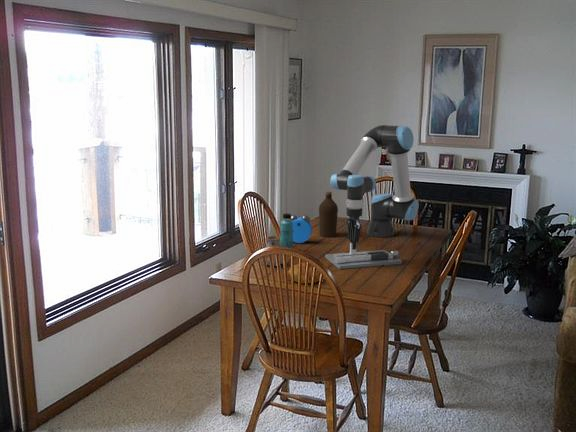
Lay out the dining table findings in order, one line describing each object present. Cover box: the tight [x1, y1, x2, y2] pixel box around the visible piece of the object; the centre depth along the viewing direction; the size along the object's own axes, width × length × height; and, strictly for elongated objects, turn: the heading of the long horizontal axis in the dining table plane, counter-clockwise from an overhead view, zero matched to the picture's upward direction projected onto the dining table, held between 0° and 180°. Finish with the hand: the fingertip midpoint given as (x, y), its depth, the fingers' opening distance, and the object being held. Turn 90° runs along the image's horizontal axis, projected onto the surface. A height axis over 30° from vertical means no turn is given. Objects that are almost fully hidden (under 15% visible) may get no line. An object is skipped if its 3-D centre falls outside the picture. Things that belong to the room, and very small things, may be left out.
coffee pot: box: [261, 235, 283, 267], centre depth 285 cm, size 21×12×15 cm, turn 0°
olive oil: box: [318, 190, 339, 238], centre depth 343 cm, size 11×11×25 cm
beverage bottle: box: [279, 212, 294, 249], centre depth 310 cm, size 6×7×20 cm
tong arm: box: [333, 250, 389, 260], centre depth 296 cm, size 26×3×2 cm, turn 104°
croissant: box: [287, 262, 320, 285], centre depth 269 cm, size 14×16×8 cm
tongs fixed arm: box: [335, 249, 399, 263], centre depth 293 cm, size 33×5×3 cm, turn 106°
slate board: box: [324, 249, 403, 270], centre depth 298 cm, size 32×20×2 cm, turn 106°
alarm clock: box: [288, 214, 313, 244], centre depth 330 cm, size 13×6×15 cm, turn 82°
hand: (352, 255), depth 296 cm, fingers closed
